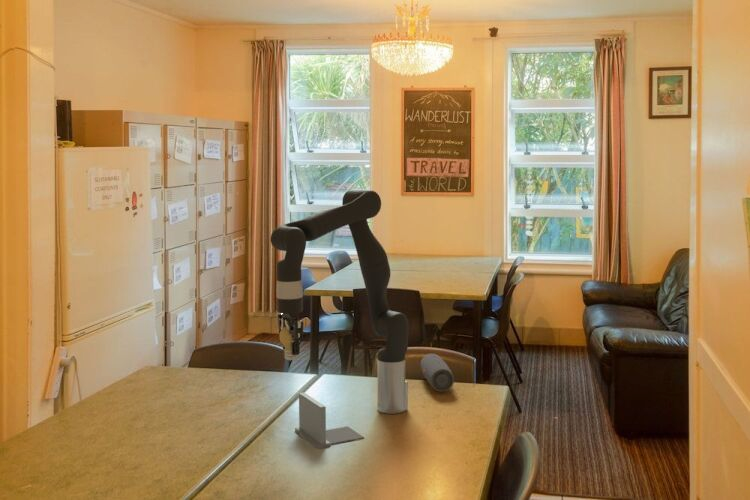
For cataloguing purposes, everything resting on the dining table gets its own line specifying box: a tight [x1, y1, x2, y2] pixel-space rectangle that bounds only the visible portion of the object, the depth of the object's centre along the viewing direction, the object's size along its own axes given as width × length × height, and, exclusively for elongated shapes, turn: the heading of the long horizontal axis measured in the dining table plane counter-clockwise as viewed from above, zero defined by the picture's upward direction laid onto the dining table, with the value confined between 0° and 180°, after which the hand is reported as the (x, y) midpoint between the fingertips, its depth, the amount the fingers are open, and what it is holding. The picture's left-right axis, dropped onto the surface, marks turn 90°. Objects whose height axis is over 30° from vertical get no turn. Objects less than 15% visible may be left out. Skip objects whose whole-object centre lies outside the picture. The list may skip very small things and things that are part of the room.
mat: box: [326, 425, 365, 446], centre depth 239 cm, size 11×11×1 cm
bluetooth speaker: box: [420, 353, 455, 393], centre depth 290 cm, size 23×9×10 cm, turn 6°
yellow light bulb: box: [278, 327, 301, 361], centre depth 231 cm, size 6×6×10 cm
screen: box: [294, 391, 331, 449], centre depth 237 cm, size 4×17×12 cm, turn 28°
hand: (291, 351), depth 231 cm, fingers closed on yellow light bulb, 6 cm apart
